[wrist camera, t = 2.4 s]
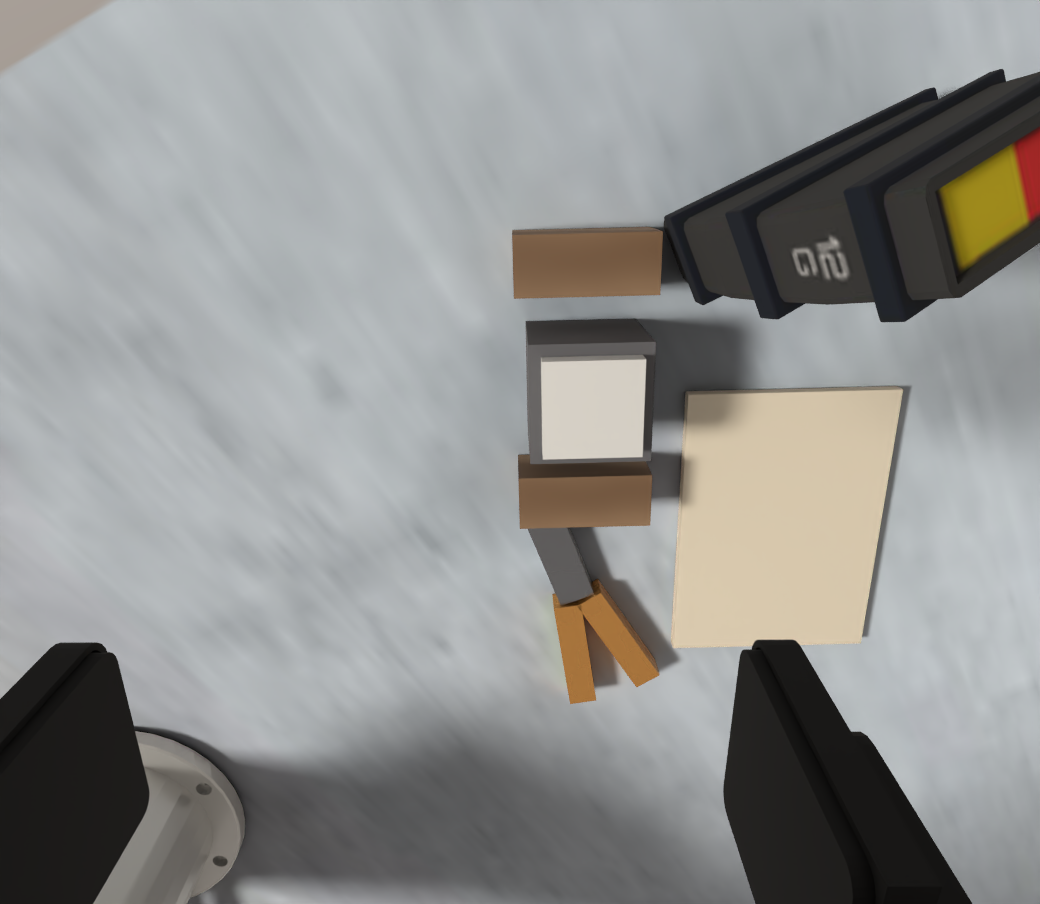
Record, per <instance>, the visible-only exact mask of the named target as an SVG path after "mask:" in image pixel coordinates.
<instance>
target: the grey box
mask: <svg viewBox="0 0 1040 904" xmlns="http://www.w3.org/2000/svg"><path fill="white" fill-rule="evenodd" d="M655 354H656V341H655V340H654V339H653V338H652V337H651V336H650V335H649V333H648V332H647V331H646V330H645V329H644V328H643V327H642V326H641V325H640V323H639V322H638V321H637V320H636V319H596V320H556V321H526V362H527V412H528V436H529V451H530V464H560V463H600V462H639V461H651V448H652V424H653V401H654V378H655Z"/></svg>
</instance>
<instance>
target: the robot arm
mask: <svg viewBox="0 0 1040 904" xmlns="http://www.w3.org/2000/svg"><path fill="white" fill-rule="evenodd" d="M724 803H725V809H726V813H727V816H728V820H729V823H730V826H731V829H732V832H733V835H734V838H735V841H736V844H737V848H738V851H739V854H740V857H741V860H742V863H743V866H744V869H745V872H746V875H747V879H748V882H749V885H750V888H751V891H752V894H753V897H754V900H755V903H756V904H972V902H971V901H970V899H969V898H968V896H967V894H966V893H965V891H964V890H963V888H962V886H961V885H960V883H959V881H958V880H957V878H956V877H955V875H954V873H953V872H952V870H951V868H950V867H949V865H948V864H947V862H946V860H945V859H944V857H943V856H942V854H941V852H940V851H939V849H938V847H937V846H936V844H935V843H934V841H933V839H932V838H931V836H930V834H929V833H928V831H927V830H926V828H925V826H924V825H923V823H922V822H921V820H920V818H919V817H918V815H917V813H916V812H915V810H914V809H913V807H912V805H911V804H910V802H909V800H908V799H907V797H906V796H905V794H904V792H903V791H902V789H901V788H900V786H899V784H898V783H897V781H896V779H895V778H894V776H893V775H892V773H891V771H890V770H889V768H888V766H887V765H886V763H885V762H884V760H883V758H882V757H881V755H880V754H879V752H878V750H877V749H876V747H875V745H874V744H873V743H872V741H871V740H870V739H869V738H868V736H867V735H865V734H863V733H862V732H851V731H850V729H849V728H848V726H847V724H846V723H845V721H844V719H843V718H842V716H841V714H840V713H839V711H838V709H837V707H836V706H835V704H834V702H833V701H832V699H831V697H830V696H829V694H828V692H827V691H826V689H825V687H824V685H823V684H822V682H821V680H820V679H819V677H818V675H817V674H816V672H815V670H814V669H813V667H812V665H811V663H810V662H809V660H808V658H807V657H806V655H805V653H804V652H803V650H802V648H801V646H800V645H799V644H798V642H797V641H795V640H756V641H755V642H754V644H753V646H752V650H743V651H742V652H741V655H740V661H739V668H738V676H737V684H736V692H735V700H734V708H733V716H732V724H731V732H730V740H729V748H728V756H727V763H726V771H725V779H724ZM244 836H245V817H244V812H243V807H242V804H241V802H240V799H239V797H238V795H237V793H236V791H235V789H234V788H233V786H232V785H231V783H230V782H229V781H228V779H227V778H226V777H225V775H224V774H223V773H222V772H221V771H220V770H218V769H217V768H216V767H215V766H214V765H213V764H212V763H211V762H210V761H209V760H207V759H206V758H204V757H203V756H201V755H200V754H198V753H197V752H195V751H194V750H192V749H190V748H188V747H186V746H184V745H182V744H180V743H178V742H176V741H174V740H171V739H167V738H164V737H161V736H158V735H155V734H150V733H144V732H138V731H135V729H134V725H133V721H132V717H131V713H130V709H129V705H128V701H127V697H126V693H125V689H124V685H123V681H122V677H121V673H120V668H119V664H118V661H117V658H116V656H115V655H114V654H113V653H110V652H107V651H106V648H105V647H104V646H103V645H102V644H100V643H59V644H55V645H54V646H53V647H51V648H50V649H49V650H48V651H47V652H46V653H45V654H44V655H43V656H42V657H41V658H40V659H39V660H38V661H37V662H36V663H35V664H34V665H33V666H32V667H31V668H30V669H29V670H28V671H27V673H26V674H25V675H24V676H23V677H22V678H21V679H20V680H19V681H18V682H17V683H16V684H15V685H14V686H13V687H12V688H11V689H10V690H9V691H8V692H7V693H6V694H5V695H4V696H3V697H2V698H1V699H0V904H187V903H188V901H189V898H192V897H195V896H197V895H199V894H201V893H203V892H205V891H207V890H209V889H210V888H212V887H213V886H214V885H215V884H217V883H218V882H219V881H221V880H222V879H223V878H224V876H225V875H226V874H227V873H228V871H229V870H230V869H231V868H232V866H233V864H234V862H235V860H236V857H237V855H238V853H239V851H240V848H241V845H242V842H243V839H244Z"/></svg>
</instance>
